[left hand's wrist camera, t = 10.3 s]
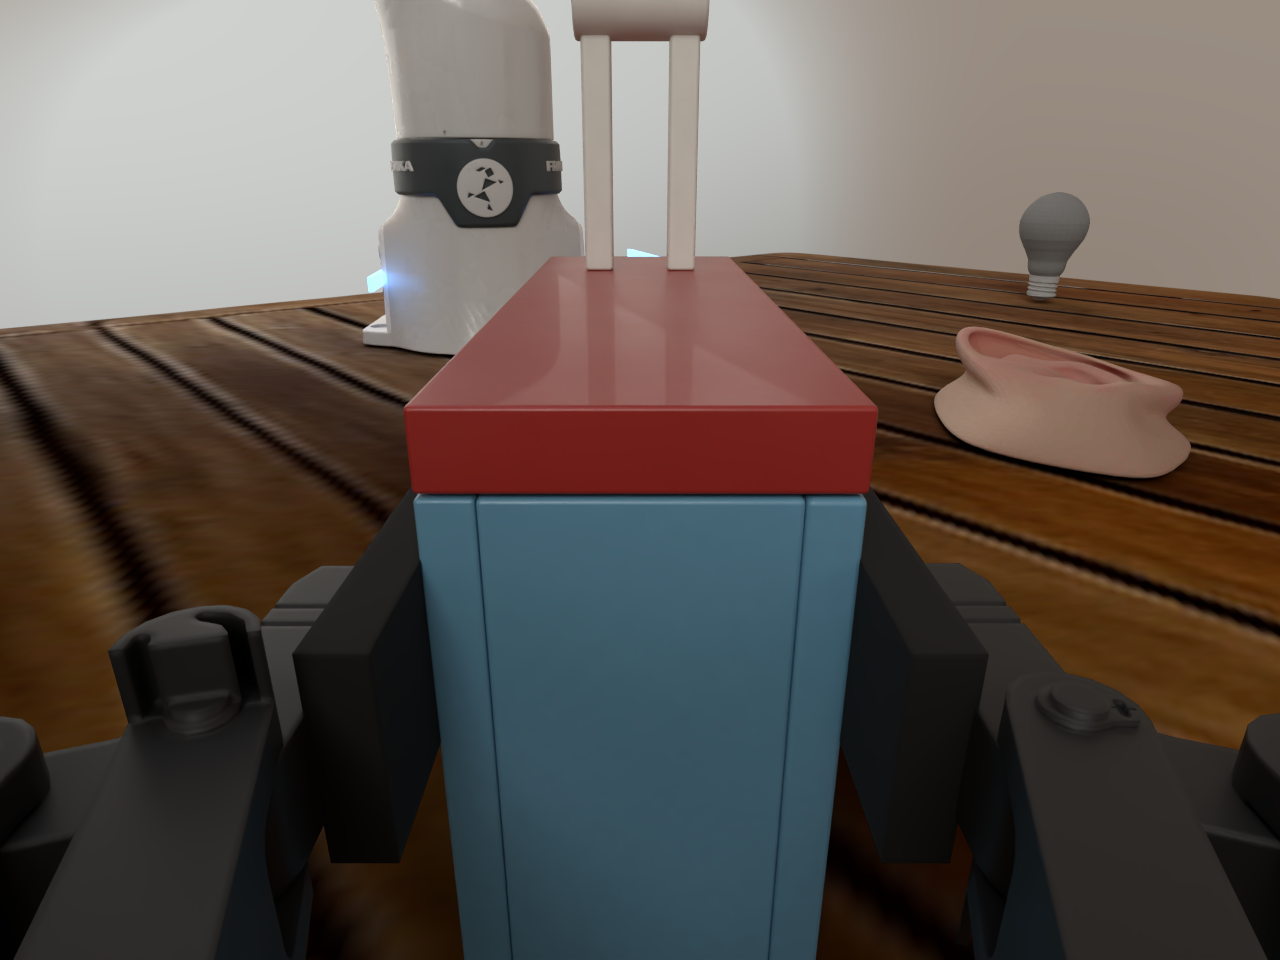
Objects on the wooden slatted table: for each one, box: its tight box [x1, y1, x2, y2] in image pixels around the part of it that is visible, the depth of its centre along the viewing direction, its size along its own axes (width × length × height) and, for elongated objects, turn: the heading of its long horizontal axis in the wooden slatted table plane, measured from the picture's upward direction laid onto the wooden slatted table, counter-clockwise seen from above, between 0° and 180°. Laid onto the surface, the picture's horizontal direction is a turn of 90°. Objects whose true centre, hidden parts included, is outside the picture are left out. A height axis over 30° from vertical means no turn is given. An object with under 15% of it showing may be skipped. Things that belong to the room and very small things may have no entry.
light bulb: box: [1019, 192, 1090, 300], centre depth 78 cm, size 6×6×10 cm
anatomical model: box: [934, 327, 1191, 478], centre depth 40 cm, size 13×4×12 cm
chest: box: [413, 494, 867, 960], centre depth 18 cm, size 15×5×9 cm, turn 0°
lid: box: [403, 0, 878, 494], centre depth 15 cm, size 16×5×8 cm, turn 0°
